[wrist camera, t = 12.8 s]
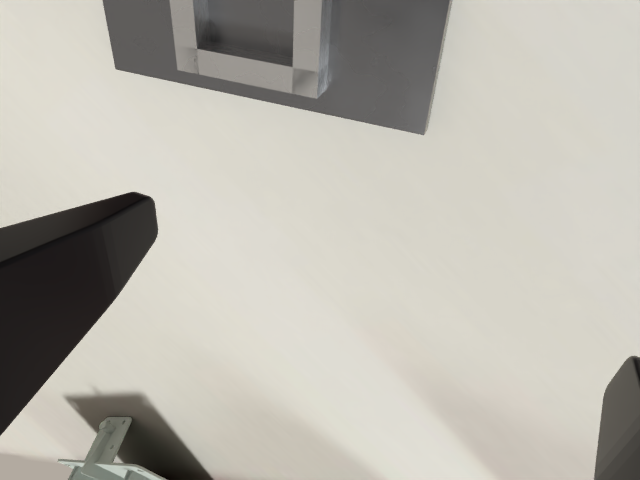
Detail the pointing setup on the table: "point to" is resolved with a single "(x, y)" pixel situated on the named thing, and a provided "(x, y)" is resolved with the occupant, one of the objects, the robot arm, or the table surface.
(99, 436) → the metal bracket
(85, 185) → the table surface
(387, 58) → the fitting plate
